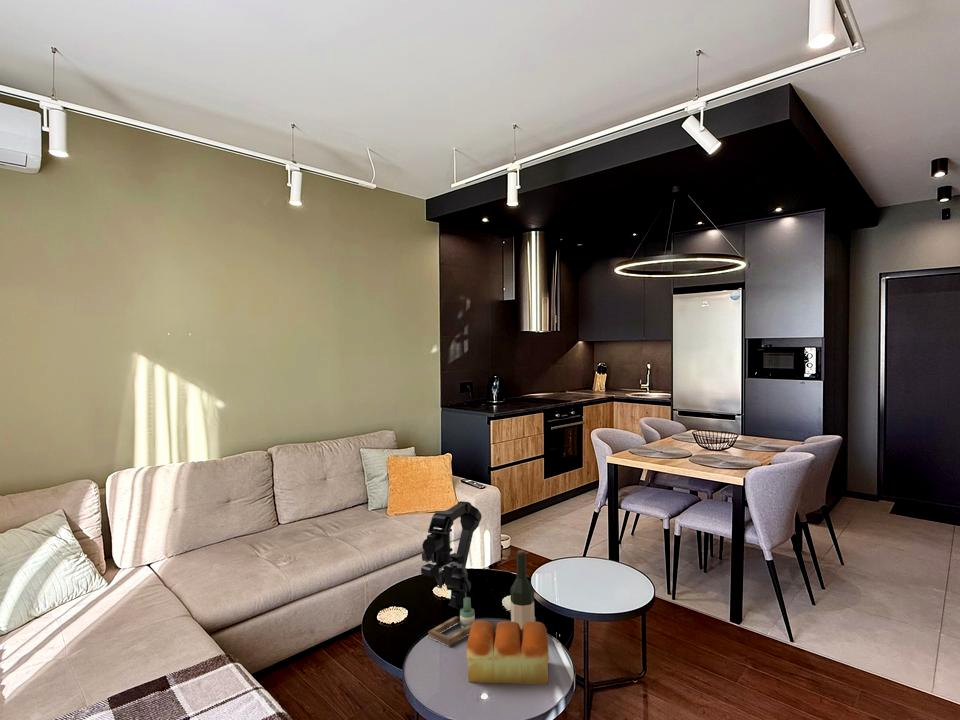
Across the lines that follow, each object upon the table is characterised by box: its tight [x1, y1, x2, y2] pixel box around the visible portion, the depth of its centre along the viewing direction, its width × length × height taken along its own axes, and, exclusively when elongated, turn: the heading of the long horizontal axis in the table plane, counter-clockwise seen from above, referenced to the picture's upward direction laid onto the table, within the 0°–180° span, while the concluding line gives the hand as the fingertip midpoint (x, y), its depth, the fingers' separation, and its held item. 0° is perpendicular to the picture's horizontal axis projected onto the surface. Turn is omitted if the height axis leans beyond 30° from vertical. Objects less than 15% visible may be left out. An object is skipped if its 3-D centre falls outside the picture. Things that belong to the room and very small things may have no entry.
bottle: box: [459, 596, 476, 627], centre depth 195 cm, size 6×6×10 cm
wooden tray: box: [427, 615, 472, 647], centre depth 189 cm, size 14×10×2 cm
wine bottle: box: [509, 549, 536, 638], centre depth 187 cm, size 8×8×30 cm
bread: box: [466, 620, 550, 685], centre depth 165 cm, size 25×12×15 cm, turn 85°
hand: (443, 586), depth 202 cm, fingers open, 3 cm apart
